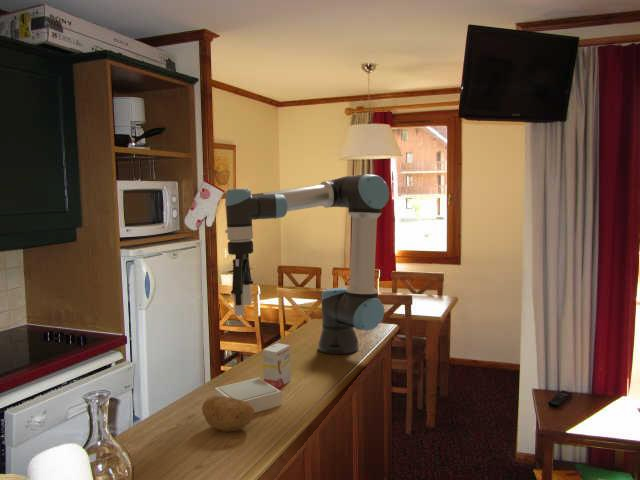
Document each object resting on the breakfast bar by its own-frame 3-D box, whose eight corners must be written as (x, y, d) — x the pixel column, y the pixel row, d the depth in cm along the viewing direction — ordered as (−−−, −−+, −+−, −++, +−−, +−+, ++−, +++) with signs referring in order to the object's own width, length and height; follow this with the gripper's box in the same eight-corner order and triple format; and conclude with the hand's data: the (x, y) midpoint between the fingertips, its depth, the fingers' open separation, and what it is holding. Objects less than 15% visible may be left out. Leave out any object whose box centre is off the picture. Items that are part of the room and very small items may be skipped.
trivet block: (259, 390, 160) (258, 376, 159) (281, 405, 148) (281, 390, 148) (215, 401, 152) (214, 387, 152) (235, 418, 140) (235, 402, 140)
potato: (242, 442, 127) (241, 410, 126) (195, 433, 132) (193, 402, 132) (263, 425, 136) (262, 395, 135) (217, 417, 141) (216, 388, 141)
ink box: (276, 390, 159) (275, 352, 158) (263, 387, 162) (261, 350, 161) (291, 380, 167) (290, 344, 166) (278, 378, 169) (277, 342, 168)
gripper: (235, 237, 170) (238, 301, 172) (218, 245, 145) (222, 320, 147) (258, 236, 170) (261, 301, 172) (246, 244, 145) (249, 320, 147)
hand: (243, 310), depth 160 cm, fingers open, 13 cm apart
